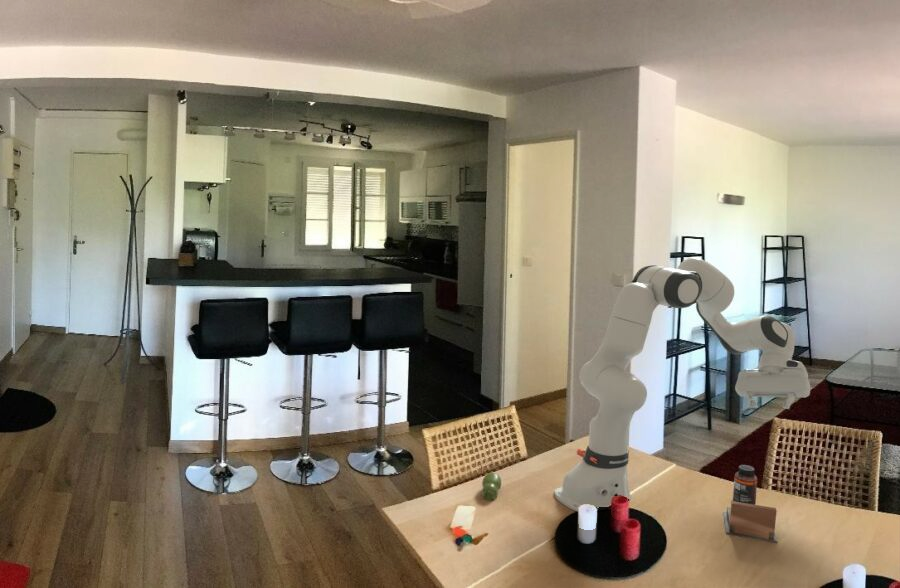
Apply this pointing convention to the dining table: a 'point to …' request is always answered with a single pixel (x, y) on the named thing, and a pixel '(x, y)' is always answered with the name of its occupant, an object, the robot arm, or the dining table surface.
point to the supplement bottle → (745, 485)
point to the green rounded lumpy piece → (491, 486)
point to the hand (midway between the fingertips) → (768, 407)
